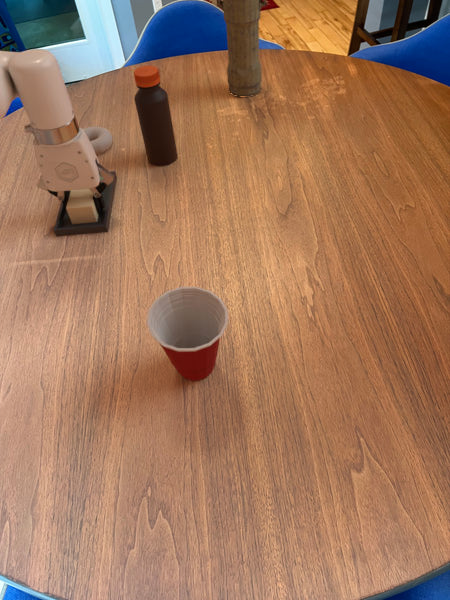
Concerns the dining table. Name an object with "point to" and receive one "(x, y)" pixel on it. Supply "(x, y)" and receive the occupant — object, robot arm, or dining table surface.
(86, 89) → the dining table surface
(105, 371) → the dining table surface
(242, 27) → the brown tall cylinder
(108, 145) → the donut
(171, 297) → the plastic cup
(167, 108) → the bottle
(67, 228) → the tray
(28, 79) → the robot arm
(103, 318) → the dining table surface
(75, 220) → the tan block
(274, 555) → the dining table surface
